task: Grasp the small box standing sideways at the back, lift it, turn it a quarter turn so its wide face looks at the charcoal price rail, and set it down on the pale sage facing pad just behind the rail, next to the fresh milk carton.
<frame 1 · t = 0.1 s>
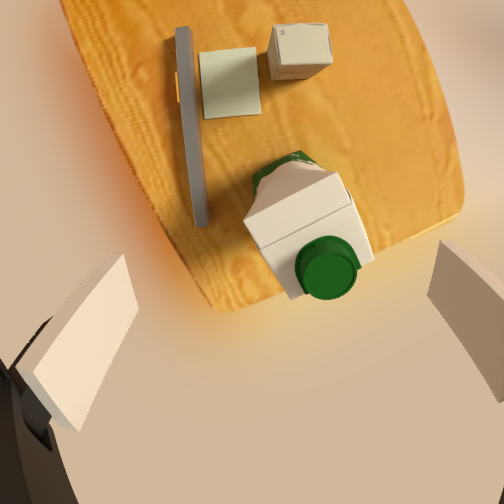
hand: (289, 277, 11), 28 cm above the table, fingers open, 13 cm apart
box: (289, 64, 31), on the table
fresh milk carton: (289, 185, 38), on the table
facing pad: (229, 82, 32), on the table
price rail: (193, 124, 34), on the table
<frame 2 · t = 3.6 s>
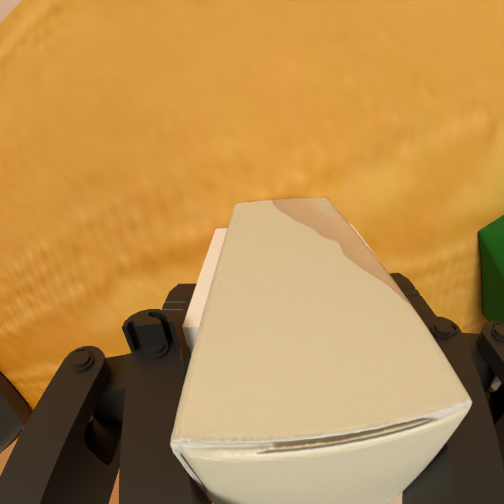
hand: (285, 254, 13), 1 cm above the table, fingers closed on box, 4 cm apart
box: (283, 246, 14), on the table, touching gripper
when the fingers open (2 cm above the table, at t = 8.5 s): box stays where it is, resting on facing pad.
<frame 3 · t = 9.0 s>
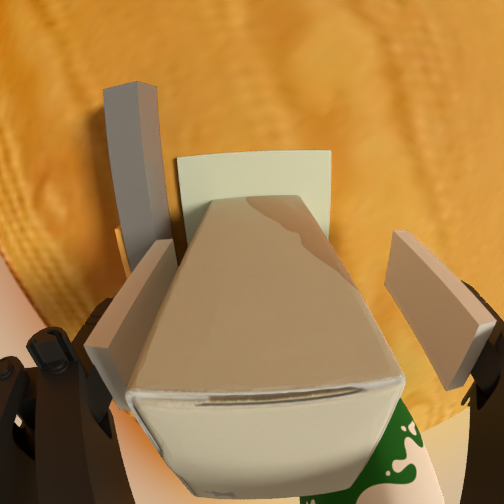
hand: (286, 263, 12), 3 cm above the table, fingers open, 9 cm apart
box: (257, 241, 15), resting on facing pad
fresh milk carton: (345, 398, 21), on the table
facing pad: (258, 242, 15), on the table
price rail: (177, 324, 17), on the table
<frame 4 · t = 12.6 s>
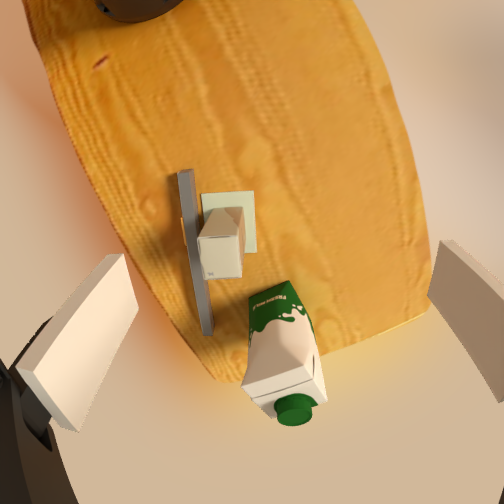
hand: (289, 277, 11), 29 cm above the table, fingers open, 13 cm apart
box: (229, 222, 41), resting on facing pad
fresh milk carton: (278, 304, 47), on the table
facing pad: (229, 223, 41), on the table
price rail: (199, 257, 43), on the table
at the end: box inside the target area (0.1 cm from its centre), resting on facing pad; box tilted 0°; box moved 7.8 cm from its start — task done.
